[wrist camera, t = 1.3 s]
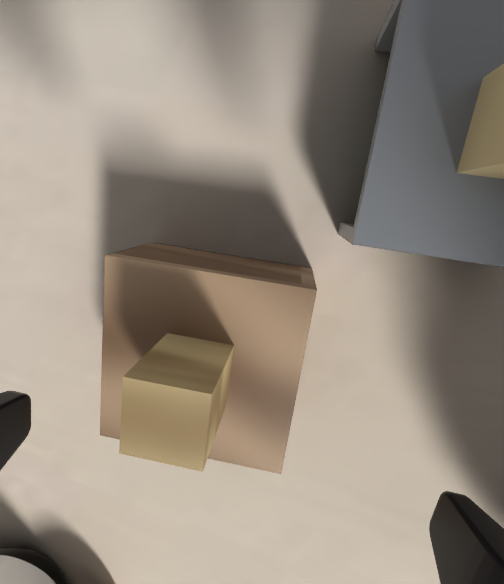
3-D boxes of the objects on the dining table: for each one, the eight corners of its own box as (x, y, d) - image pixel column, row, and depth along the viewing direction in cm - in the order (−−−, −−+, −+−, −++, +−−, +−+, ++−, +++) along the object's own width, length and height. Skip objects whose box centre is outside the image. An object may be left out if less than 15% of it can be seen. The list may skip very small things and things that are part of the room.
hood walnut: (284, 412, 21) (275, 558, 12) (143, 384, 22) (41, 502, 13) (311, 268, 19) (324, 322, 10) (152, 242, 19) (35, 273, 11)
